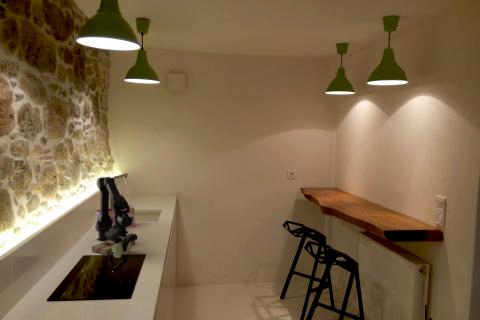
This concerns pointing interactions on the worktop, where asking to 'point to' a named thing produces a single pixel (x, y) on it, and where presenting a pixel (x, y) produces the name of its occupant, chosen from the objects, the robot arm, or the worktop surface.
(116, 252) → the sage green tapered block
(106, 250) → the brown wooden flat panel
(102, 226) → the robot arm
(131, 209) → the gum box
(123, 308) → the worktop surface
